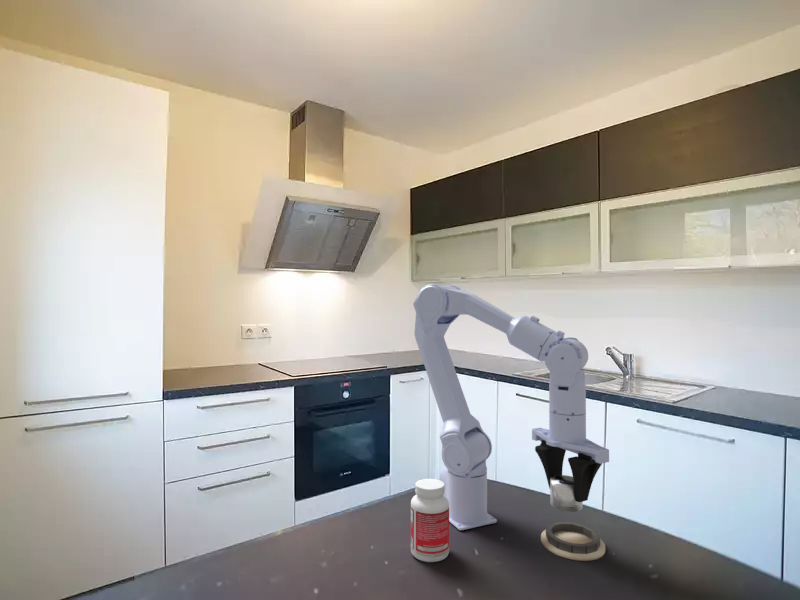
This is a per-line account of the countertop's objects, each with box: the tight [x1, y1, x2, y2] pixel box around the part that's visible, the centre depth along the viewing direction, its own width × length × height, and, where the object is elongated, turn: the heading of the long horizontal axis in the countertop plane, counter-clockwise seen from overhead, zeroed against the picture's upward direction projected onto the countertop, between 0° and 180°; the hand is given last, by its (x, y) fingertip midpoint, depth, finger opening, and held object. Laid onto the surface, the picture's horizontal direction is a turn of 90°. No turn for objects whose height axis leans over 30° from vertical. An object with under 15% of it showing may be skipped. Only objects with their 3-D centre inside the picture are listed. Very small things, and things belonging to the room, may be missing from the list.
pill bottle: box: [410, 478, 450, 563], centre depth 74 cm, size 6×6×11 cm
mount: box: [540, 521, 606, 562], centre depth 76 cm, size 10×10×2 cm
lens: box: [549, 474, 584, 513], centre depth 76 cm, size 5×5×4 cm
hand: (567, 494), depth 76 cm, fingers closed on lens, 5 cm apart
